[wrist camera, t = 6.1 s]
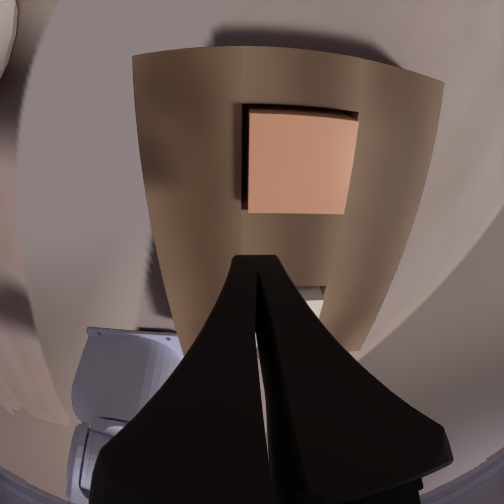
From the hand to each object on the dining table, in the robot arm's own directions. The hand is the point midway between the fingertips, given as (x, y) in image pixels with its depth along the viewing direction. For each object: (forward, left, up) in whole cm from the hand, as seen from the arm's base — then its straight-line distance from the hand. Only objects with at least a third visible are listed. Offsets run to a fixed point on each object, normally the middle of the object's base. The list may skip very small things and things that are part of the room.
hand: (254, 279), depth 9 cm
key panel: (+2, -3, -9) cm, 9 cm away
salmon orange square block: (+2, +2, -7) cm, 8 cm away
